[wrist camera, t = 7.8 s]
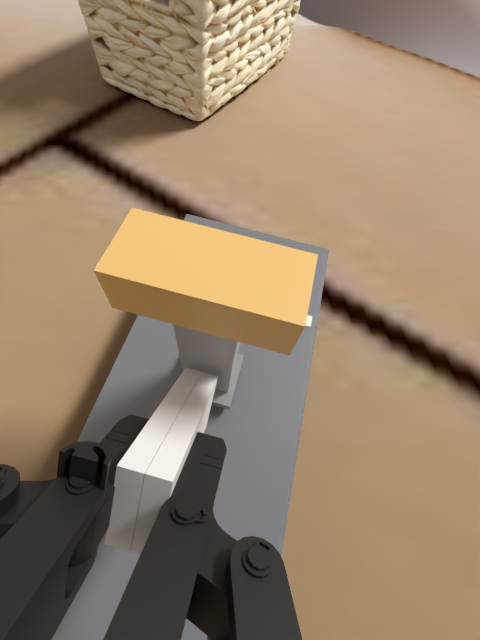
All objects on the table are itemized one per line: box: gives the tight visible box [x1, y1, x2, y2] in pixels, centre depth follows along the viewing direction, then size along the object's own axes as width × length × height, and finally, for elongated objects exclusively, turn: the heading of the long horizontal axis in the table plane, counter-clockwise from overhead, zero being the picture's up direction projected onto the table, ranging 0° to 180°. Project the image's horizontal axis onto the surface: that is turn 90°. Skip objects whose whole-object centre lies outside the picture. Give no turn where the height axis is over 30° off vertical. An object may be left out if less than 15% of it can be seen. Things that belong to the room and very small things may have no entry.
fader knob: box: [94, 208, 318, 409], centre depth 14 cm, size 3×6×10 cm, turn 76°
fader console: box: [51, 214, 329, 640], centre depth 19 cm, size 28×11×3 cm, turn 166°
